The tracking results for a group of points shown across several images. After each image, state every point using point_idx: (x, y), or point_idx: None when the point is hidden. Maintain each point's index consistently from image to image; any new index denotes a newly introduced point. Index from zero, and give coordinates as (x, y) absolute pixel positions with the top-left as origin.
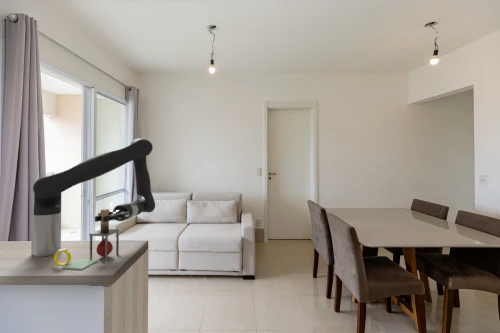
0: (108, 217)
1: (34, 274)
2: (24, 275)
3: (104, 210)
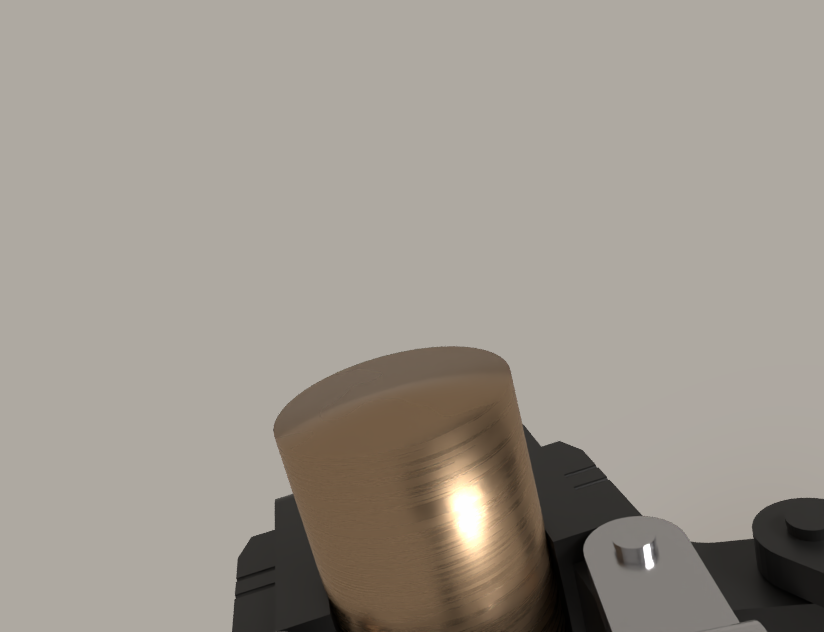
0: (239, 573)
1: None
2: None
3: (338, 382)
